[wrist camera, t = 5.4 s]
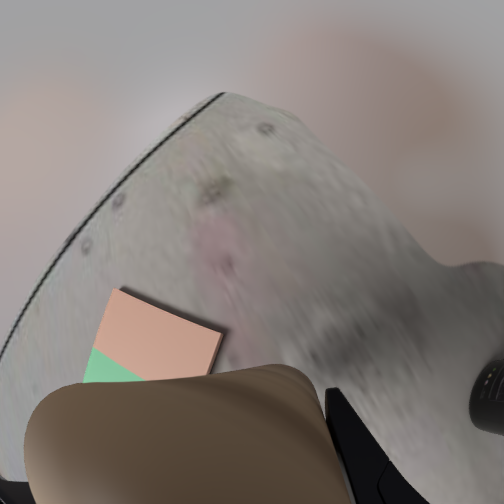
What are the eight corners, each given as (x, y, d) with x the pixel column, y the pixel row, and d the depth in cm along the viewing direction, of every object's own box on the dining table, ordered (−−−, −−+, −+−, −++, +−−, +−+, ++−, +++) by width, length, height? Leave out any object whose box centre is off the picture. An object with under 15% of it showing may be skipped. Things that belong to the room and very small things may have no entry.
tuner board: (156, 518, 15) (153, 521, 14) (72, 457, 18) (67, 458, 18) (223, 334, 21) (220, 333, 21) (118, 289, 25) (113, 287, 24)
